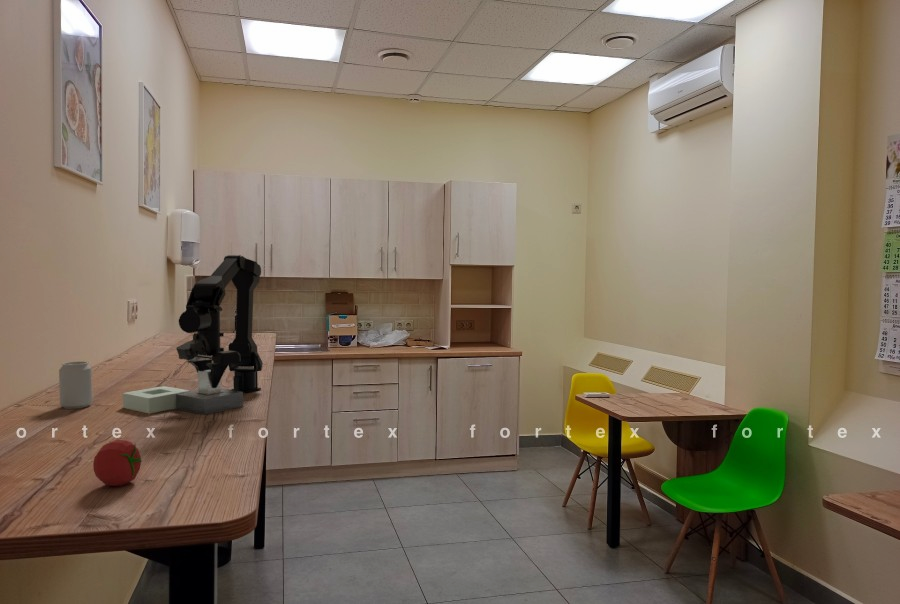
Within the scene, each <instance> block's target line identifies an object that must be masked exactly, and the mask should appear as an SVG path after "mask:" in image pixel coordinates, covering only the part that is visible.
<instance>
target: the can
mask: <svg viewBox="0 0 900 604" xmlns="http://www.w3.org/2000/svg"><path fill="white" fill-rule="evenodd" d="M61 365H62V366H60V368H59V370H58V375H59V376H58V380H59V381H58V383H59V385H58V386H59V406H61V407H63V408H64V409H65V410H66V409H67V410H74V409H82V408H87V407H89V406H90V404H92V403H93V379H92V377H93V376H92V375H93V374H92V373H93V372H92V366H90V365H89V362H88V361H80V360H79V361H68V362H62V363H61Z"/></svg>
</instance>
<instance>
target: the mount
mask: <svg viewBox="0 0 900 604" xmlns="http://www.w3.org/2000/svg"><path fill="white" fill-rule="evenodd" d="M189 391H190V392H185V393H180V394H176V408H175V410H179V411H183V412H187V413H189V412H190V413H193V414H199V415H201V416H202V415H204V416H206V415H211V414H215V413H220V412H223V411H229V410H234V409H238V408H241V407H244V395H243V394H244V393H243V392H241V391H235V390H231V389H228V388H223V387H221V393H219V394H214V395H209V396H206V395H201V394H199V392H198V389H197V390H196V389H195V390H192V391H191V390H189Z"/></svg>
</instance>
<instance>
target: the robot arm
mask: <svg viewBox="0 0 900 604" xmlns="http://www.w3.org/2000/svg"><path fill="white" fill-rule="evenodd" d="M261 275H262V267H261V265H260V264H258V262H257V261H256V260H252V259H249V258H246V257H245V256H244V255H241V254H228V255H225V256H224V258H223V261H222V262H221V263H220V264H219V265H218V266H217V268H216V269H215V270H214V271H213V272H212V273H211V275H209V276H208V277H205V278H201V279H200V280H199V281H197V282H196V283H194V285H193V286H192V288H191V290H190V294H189V297H188V299H187V302H186V304H185V311H184V312H182V313H181V315H180V316H179V319H178V325H179V328H180V329H181V330H182V331H183V332H185V333H188V334H192V333H193V334H192V339H191V340H188V341H187V342H184V343H183V344H181V345H178V346H177V347H176V348H175V349H176V351H177V354H178V359H179V360H186V361H187V363H188V364H190V365H192V366H193V367H194V368H195V371H196V373H197V374H198V371H201V370H207V369H210V370H211V380H212V387H213V388H217V386H218V384H219V382H220V380H222V377H223V376H224V374H225V372H226V371H227V368H228V370H229V372H234V376H232V377H233V381H232V382H233V388H231V389H230V390H235V391H241V392H243V394H244V393H251V392H256V391H260V390H262V387H258V385H259V384H258V382H259V381H258V377H259V376H258V372H262V371H263V370H262V369H263V365H264V364H263V360H262V358H261V357H260V354H259V352H258V346H257V343H256V342H255V340H254V339H253V320H254V319H253V317H254V315H253V313H254V310H253V309H254V290H255V289H256V288H257V286H258V284H260V277H261ZM230 282H232V284H233V286H234V287H235V289H236V307H235V311H236V313H235V335H234V336H235V337H234V338H233V341H232V342H230V343H229V344H228V346H227V347H228V348H227V349H228V350H225V349H224V347H221V337H224V332H221V312H222V311H223V308H222V306H221V304H222V302H223V300H224V298H225V297H226V295H227V293H226V287H227V286H228V284H230Z"/></svg>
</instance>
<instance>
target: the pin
mask: <svg viewBox="0 0 900 604" xmlns="http://www.w3.org/2000/svg"><path fill="white" fill-rule="evenodd" d="M197 377H198V378H197V380H198V381H197V382H198V385H197V386H198V388H197V390H198V392H199V394H201V395H206V396H209V395H214V394H219V393H221V388H222V386H221V385H222V383H221V382H222V381H221V380H222V379H221V380H220V382H219V384H218V386H217V388H213V387H212V380H211V370H210V369H207V370H201V371H198V373H197Z"/></svg>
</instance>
